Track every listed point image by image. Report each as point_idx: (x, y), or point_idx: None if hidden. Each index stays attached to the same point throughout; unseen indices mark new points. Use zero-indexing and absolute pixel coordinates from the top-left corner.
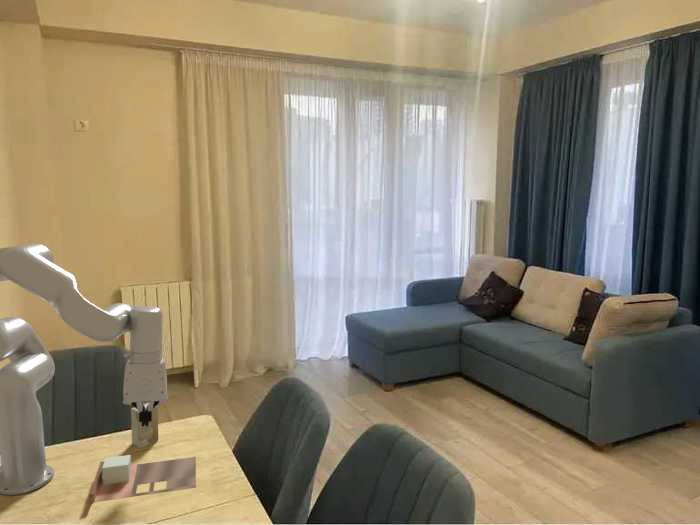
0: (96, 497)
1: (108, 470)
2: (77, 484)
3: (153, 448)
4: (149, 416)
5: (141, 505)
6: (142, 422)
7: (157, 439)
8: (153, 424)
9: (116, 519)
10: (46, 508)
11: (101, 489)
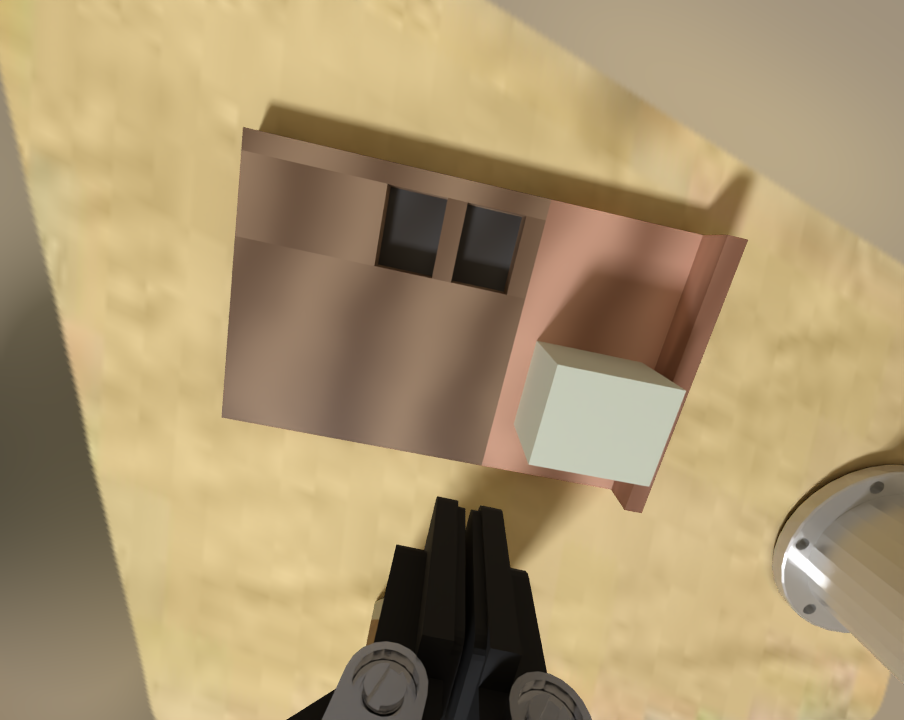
0: (688, 268)
1: (648, 379)
2: (709, 445)
3: None
4: (410, 591)
5: (507, 152)
6: (496, 533)
7: (374, 622)
8: None
9: (625, 88)
10: (845, 324)
11: (656, 325)
